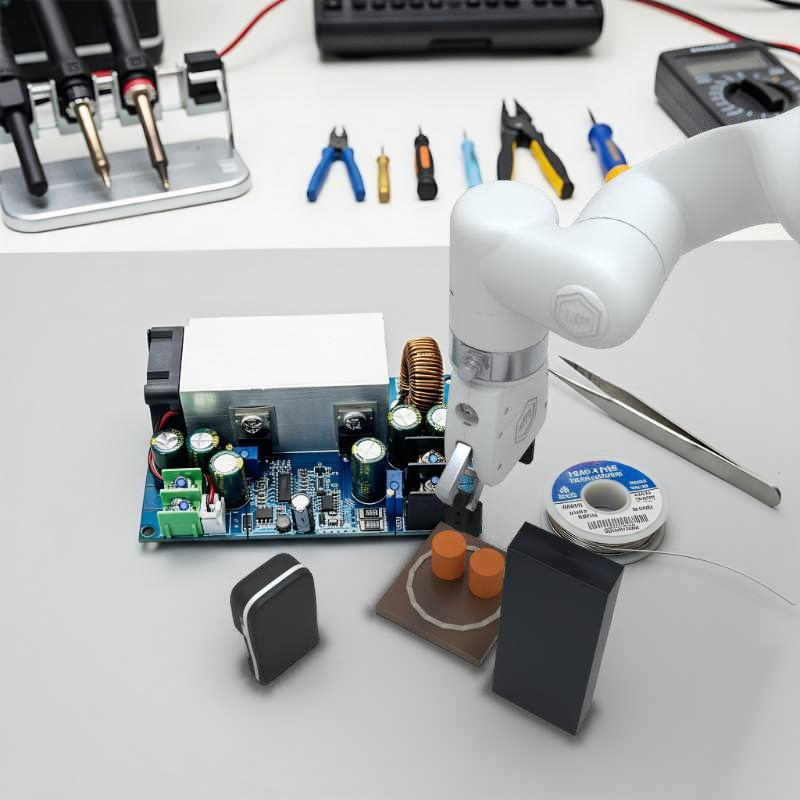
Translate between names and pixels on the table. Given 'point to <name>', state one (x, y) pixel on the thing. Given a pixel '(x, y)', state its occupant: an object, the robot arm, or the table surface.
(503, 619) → the dot stand
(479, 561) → the eye dot
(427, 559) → the board
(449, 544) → the eye dot
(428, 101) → the table surface
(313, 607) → the battery charger
